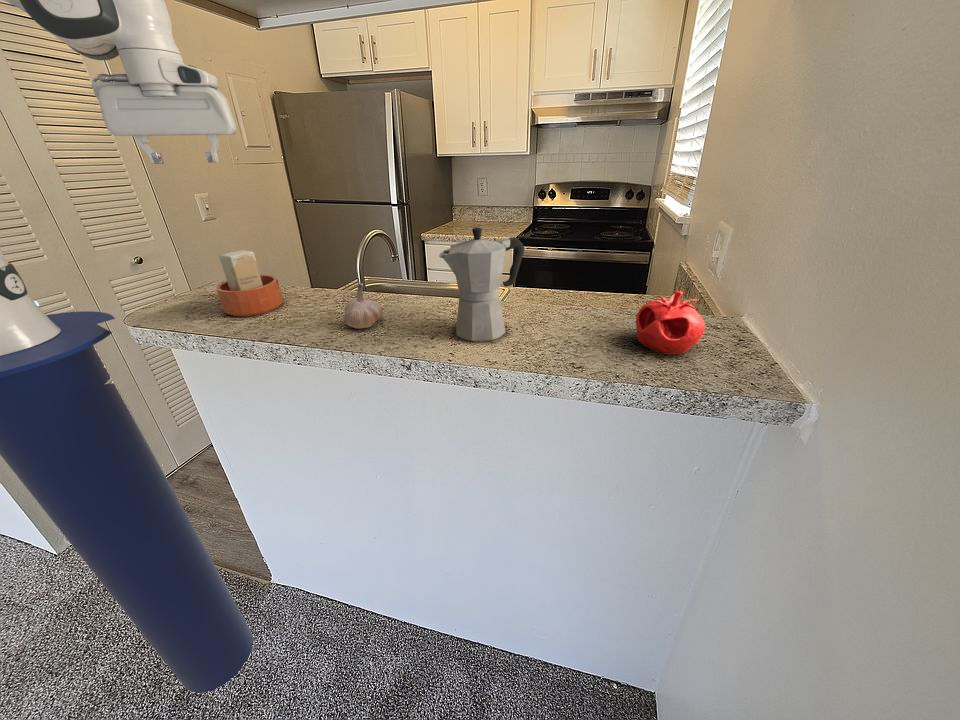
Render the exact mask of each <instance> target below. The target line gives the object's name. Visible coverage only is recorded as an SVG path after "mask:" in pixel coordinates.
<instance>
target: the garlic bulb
mask: <svg viewBox="0 0 960 720" xmlns="http://www.w3.org/2000/svg"><path fill="white" fill-rule="evenodd" d="M363 291H364V283H363V282H358V283H357V297H355V298H353V299H352V300H350V301H349V302H347V304H346V305H345V308H344V315H343V320H344V322H345V324H346V325H347V326H349V327H351V328H354V329H357V330H360V329H365V328H367V329H368V328H371V327H372V326H374V324H375V323H376V322H377V321H379V319H381V317H382V316H383V312H384V309H383V306H382V305H381V304H380V303H379V302H378V301H376V300H372V299H368V298H365V297H364V292H363Z"/></svg>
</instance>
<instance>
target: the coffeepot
mask: <svg viewBox="0 0 960 720" xmlns="http://www.w3.org/2000/svg"><path fill="white" fill-rule="evenodd" d="M471 230H472V235H473V239H468V240H465V241H462V242H458V243H454V244H451V245H450V248H447V249H443V251H441V252H439V256H438V257H439V258H440V259H443V260H444V261H445V263H446V264H447V265H448V267H449V268H450V270H451V271H452V273H453V274H454V275H455V276H454V277H455V280H456V284H457V289H458V291H459V297H458V304H457V305H458V306H457V314H456V315H457V316H456V323H455V324H456V325H455V329H456V330H455V331H456V336H457V337H459V338H460V339H462V340H464V341H468V342H476V343H482V342H490V341H493V340H496V339H499V338H501V337H502V336H503V335H504V334H505V333H506V328H505V327H506V326H505V321H504V316H503V315H504V314H503V310H502V305H501V298H500V295H499V288H500V287H501V285H502V284H503V286H504V287H505V288H507V287H510V286H511V287H512V286H514V285H515V282H516V279H517V276H518V273H519V269H520V266H521V262H522V261H523V256H524V254H525V245H524V244H523V243H522V242H521V241H520V239H519V238H518V237H513V236H512V237H508V238H500V239H497V240H496V241H495V240H489V239H484V238H482V233H483V232H482V231H483V228H481V227H477V226H476V227H474V228H471ZM510 250H514V253H513V256H512V264H511V266H510V268H509V278H508V279H507V280H505V281H502V277H503V269H504V264H505V263H504V262H505V256H506V252H508V251H510Z"/></svg>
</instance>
